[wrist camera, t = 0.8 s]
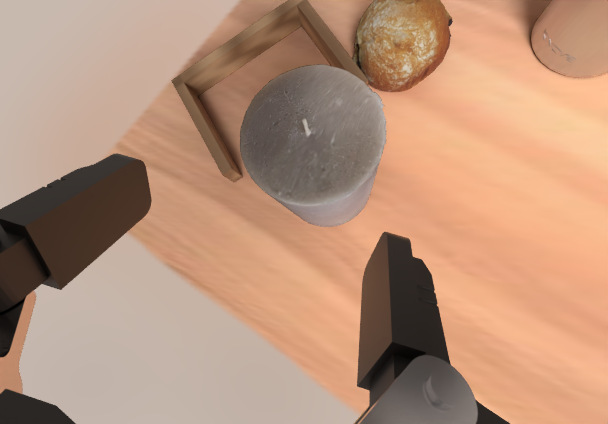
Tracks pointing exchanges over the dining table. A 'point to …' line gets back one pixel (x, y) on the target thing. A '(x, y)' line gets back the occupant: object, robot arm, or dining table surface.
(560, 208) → the dining table surface
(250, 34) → the brown wooden u-shaped frame
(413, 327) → the robot arm
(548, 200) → the dining table surface
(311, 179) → the pillar candle
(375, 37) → the bread roll
